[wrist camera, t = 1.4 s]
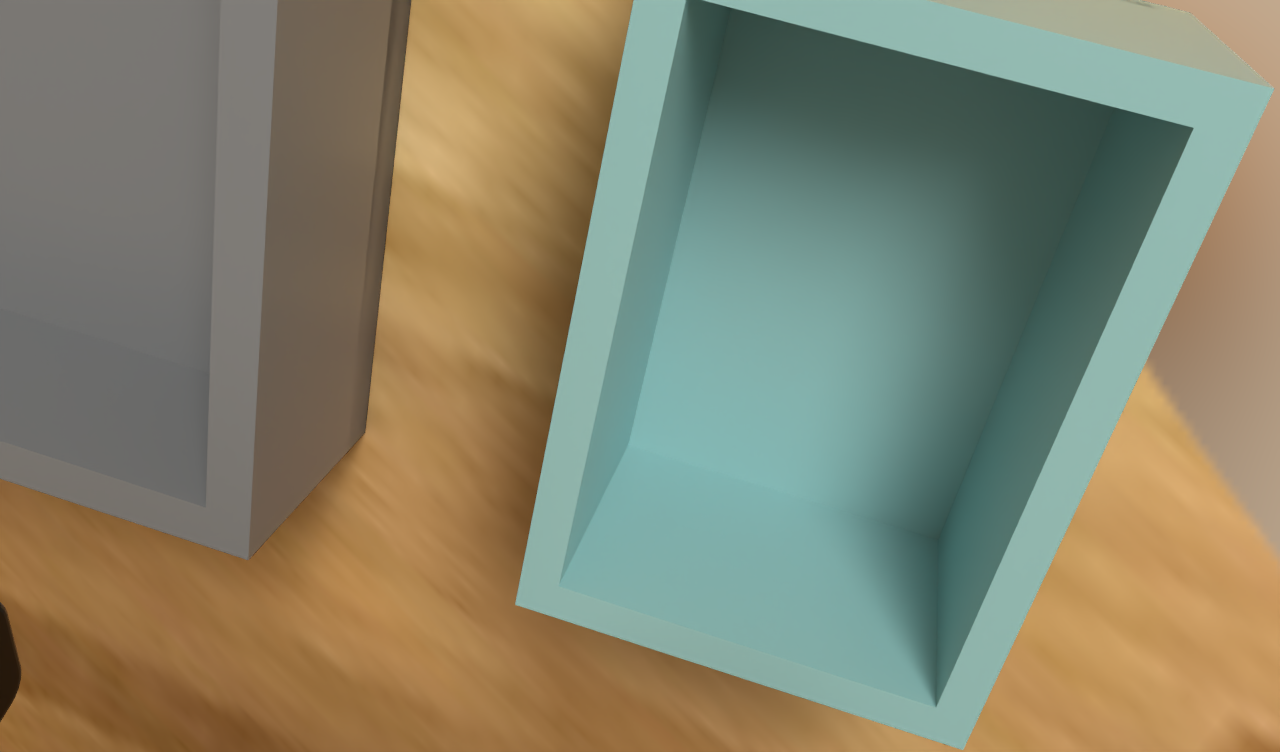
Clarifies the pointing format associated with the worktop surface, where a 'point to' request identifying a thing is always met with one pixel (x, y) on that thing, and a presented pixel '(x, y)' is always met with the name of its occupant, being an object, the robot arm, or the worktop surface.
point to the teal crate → (868, 327)
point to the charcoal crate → (192, 251)
